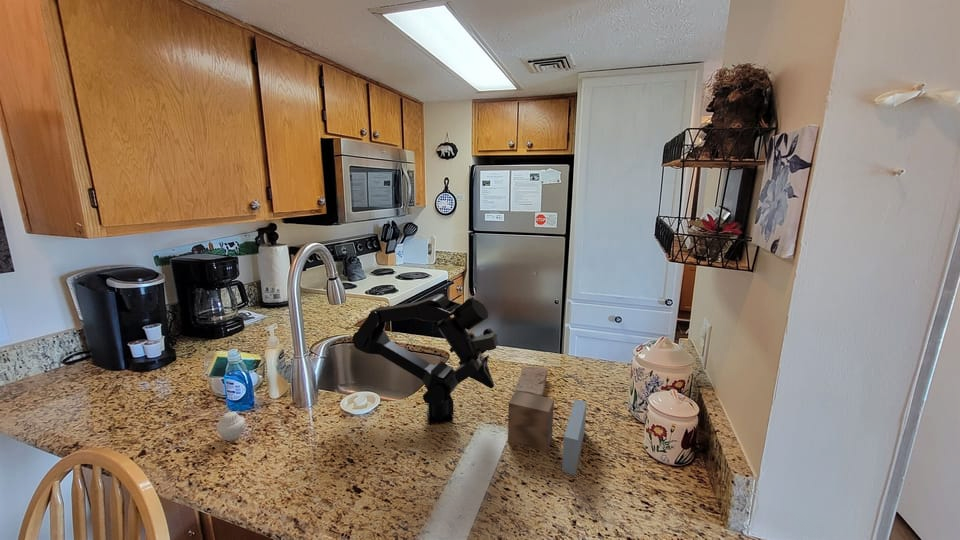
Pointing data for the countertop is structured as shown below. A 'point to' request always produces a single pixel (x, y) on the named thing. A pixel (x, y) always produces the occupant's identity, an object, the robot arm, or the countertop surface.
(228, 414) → the grey rounded lump
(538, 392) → the brick
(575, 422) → the slate board
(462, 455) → the countertop surface
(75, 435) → the countertop surface
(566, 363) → the countertop surface
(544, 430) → the walnut box
